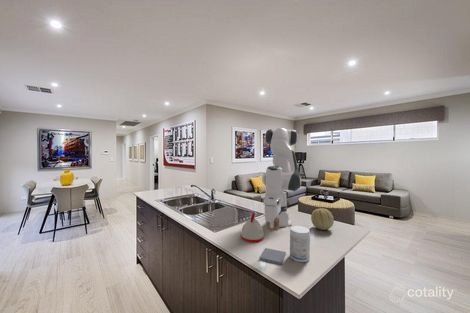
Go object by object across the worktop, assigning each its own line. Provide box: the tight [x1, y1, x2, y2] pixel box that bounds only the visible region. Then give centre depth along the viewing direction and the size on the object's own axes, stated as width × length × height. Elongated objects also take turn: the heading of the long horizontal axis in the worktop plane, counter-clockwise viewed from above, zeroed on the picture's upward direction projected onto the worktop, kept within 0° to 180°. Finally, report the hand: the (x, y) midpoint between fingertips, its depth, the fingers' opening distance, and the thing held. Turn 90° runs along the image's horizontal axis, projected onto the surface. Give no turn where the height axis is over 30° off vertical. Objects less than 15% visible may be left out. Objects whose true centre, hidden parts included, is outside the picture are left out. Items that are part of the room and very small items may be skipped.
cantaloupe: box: [310, 206, 335, 231], centre depth 141 cm, size 15×15×15 cm
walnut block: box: [266, 218, 280, 232], centre depth 102 cm, size 5×5×5 cm
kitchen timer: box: [240, 212, 264, 243], centre depth 125 cm, size 14×14×15 cm
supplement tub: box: [289, 225, 311, 263], centre depth 101 cm, size 10×10×15 cm
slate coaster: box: [259, 247, 287, 266], centre depth 102 cm, size 11×11×1 cm
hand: (273, 225), depth 102 cm, fingers closed on walnut block, 5 cm apart
